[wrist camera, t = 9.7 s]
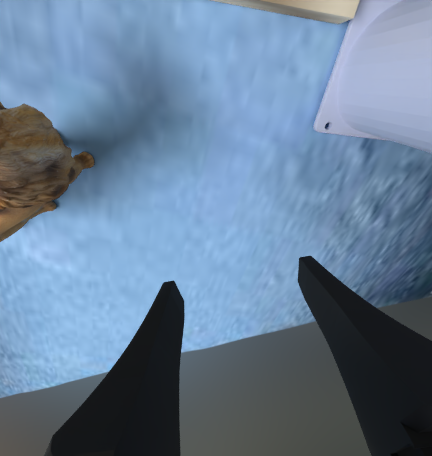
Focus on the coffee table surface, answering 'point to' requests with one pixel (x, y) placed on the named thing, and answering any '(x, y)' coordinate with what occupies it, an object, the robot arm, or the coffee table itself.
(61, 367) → the coffee table surface
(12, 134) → the lion figurine
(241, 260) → the coffee table surface
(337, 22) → the shaft board
